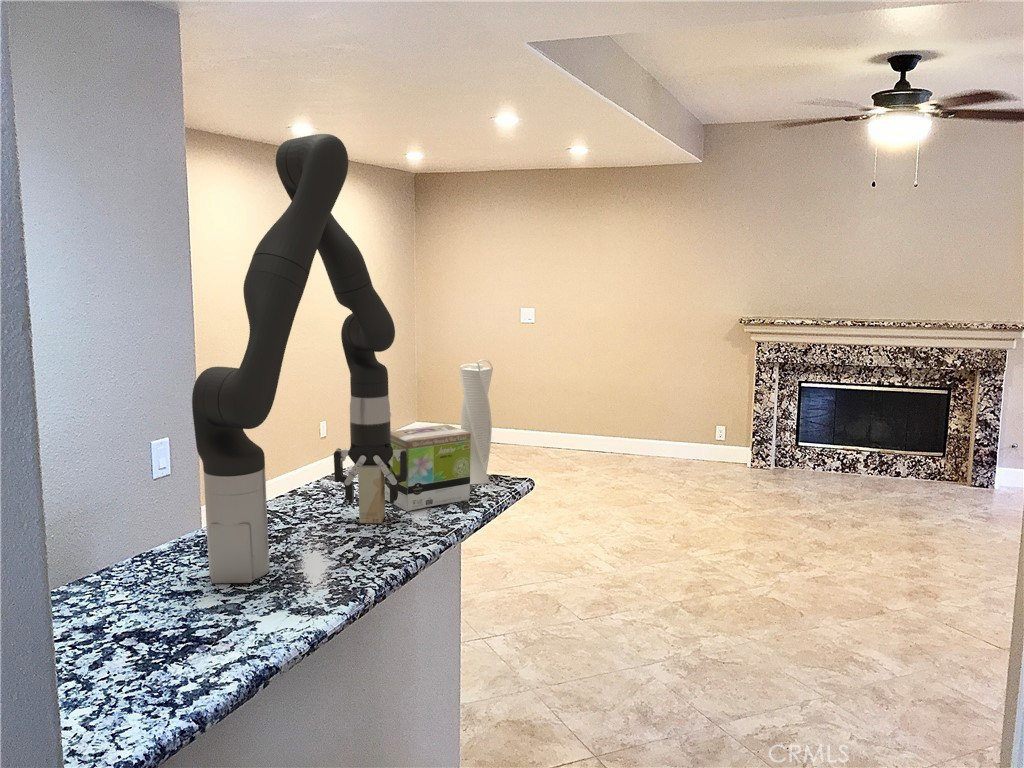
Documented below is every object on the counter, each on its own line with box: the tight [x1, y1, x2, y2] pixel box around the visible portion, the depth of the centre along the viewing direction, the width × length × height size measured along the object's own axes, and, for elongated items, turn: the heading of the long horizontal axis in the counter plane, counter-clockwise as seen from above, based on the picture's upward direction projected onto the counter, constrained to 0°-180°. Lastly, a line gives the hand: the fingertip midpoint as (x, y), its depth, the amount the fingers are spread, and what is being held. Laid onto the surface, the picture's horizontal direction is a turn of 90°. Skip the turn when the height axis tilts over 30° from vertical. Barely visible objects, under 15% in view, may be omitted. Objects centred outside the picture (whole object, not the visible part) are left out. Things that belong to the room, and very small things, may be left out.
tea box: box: [385, 424, 471, 512], centre depth 171 cm, size 15×10×15 cm
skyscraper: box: [458, 358, 494, 486], centre depth 184 cm, size 8×8×28 cm
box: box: [357, 465, 386, 524], centre depth 159 cm, size 5×4×11 cm
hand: (372, 502), depth 159 cm, fingers open, 7 cm apart
